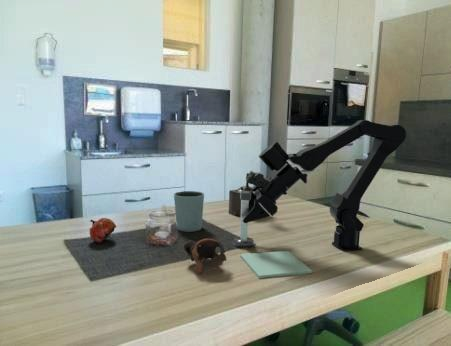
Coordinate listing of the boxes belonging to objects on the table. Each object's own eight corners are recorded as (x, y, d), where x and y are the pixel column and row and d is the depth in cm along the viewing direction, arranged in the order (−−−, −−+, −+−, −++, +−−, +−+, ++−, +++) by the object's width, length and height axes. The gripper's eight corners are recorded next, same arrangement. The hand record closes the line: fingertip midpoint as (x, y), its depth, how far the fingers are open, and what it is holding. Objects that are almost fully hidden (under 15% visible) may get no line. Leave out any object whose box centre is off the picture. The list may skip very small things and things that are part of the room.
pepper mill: (226, 213, 144) (227, 169, 141) (245, 209, 151) (246, 167, 149) (255, 221, 133) (257, 173, 130) (274, 217, 140) (276, 171, 138)
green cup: (207, 231, 119) (208, 195, 118) (177, 233, 116) (178, 197, 114) (198, 223, 129) (198, 190, 127) (170, 225, 125) (170, 191, 123)
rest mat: (287, 252, 101) (287, 250, 101) (312, 272, 88) (312, 270, 87) (240, 256, 97) (240, 254, 97) (258, 278, 84) (258, 275, 84)
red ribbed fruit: (118, 245, 110) (96, 223, 111) (128, 229, 107) (105, 207, 108) (101, 255, 103) (78, 232, 105) (112, 239, 100) (88, 215, 102)
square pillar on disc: (252, 241, 110) (254, 190, 108) (254, 248, 104) (256, 194, 102) (232, 241, 110) (234, 189, 107) (233, 248, 104) (235, 193, 101)
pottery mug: (231, 263, 93) (233, 243, 88) (214, 291, 86) (215, 271, 81) (191, 245, 97) (192, 224, 92) (172, 271, 90) (171, 250, 85)
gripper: (259, 159, 113) (223, 192, 114) (267, 165, 94) (224, 205, 95) (283, 184, 114) (247, 217, 115) (295, 196, 95) (252, 235, 97)
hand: (242, 217), depth 106 cm, fingers open, 9 cm apart
